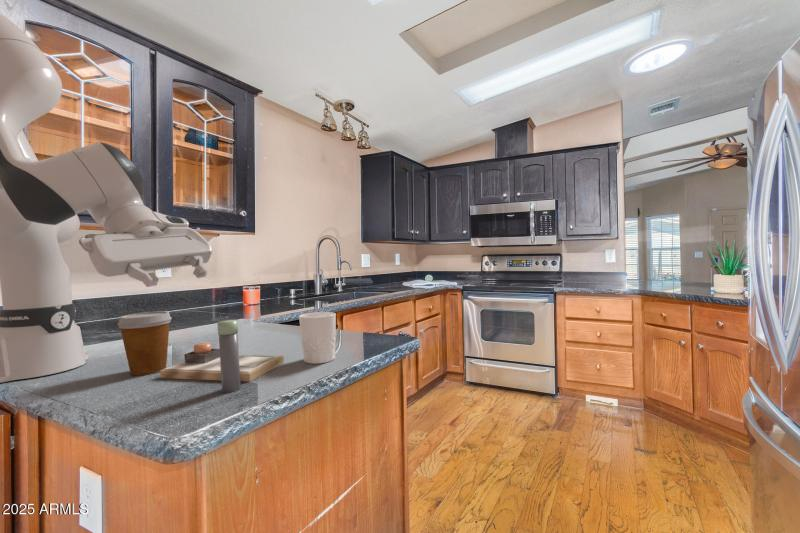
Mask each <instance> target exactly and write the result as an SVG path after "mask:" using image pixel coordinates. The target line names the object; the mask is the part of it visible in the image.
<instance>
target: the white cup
mask: <svg viewBox="0 0 800 533" xmlns="http://www.w3.org/2000/svg"><path fill="white" fill-rule="evenodd" d="M336 316H337V314H336V312H332V311H316V312H315V311H314V312H307V313H303V314H300V315H298V320H299V329H300V339H301V347H302V350H303V351H302V352H303V362H305V363H307V364H311V365H312V364H314V365H315V364H316V365H318V364H320V365H321V364H325V363H329V362H332V361H334V360H335V359H336V345H337V344H336V342H337V341H336V340H337V333H336V332H337V327H336V325H337V324H336V323H337V321H336V320H337V317H336Z"/></svg>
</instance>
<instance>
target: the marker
mask: <svg viewBox="0 0 800 533" xmlns="http://www.w3.org/2000/svg"><path fill="white" fill-rule="evenodd" d="M238 323H239V321H238V320H237V319H227V320H225V319H224V320H220V321H217V335H218V344H219V346H218V347H219V348H218V349H220V365H221V380H220V382H221V391H222V393H233V392H237V391H239V390H241V388H242V387H241V381H240V367H239V355H240V354H239V353H240V352H239V351H240V350H239V335H238V333H239V324H238Z"/></svg>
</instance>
